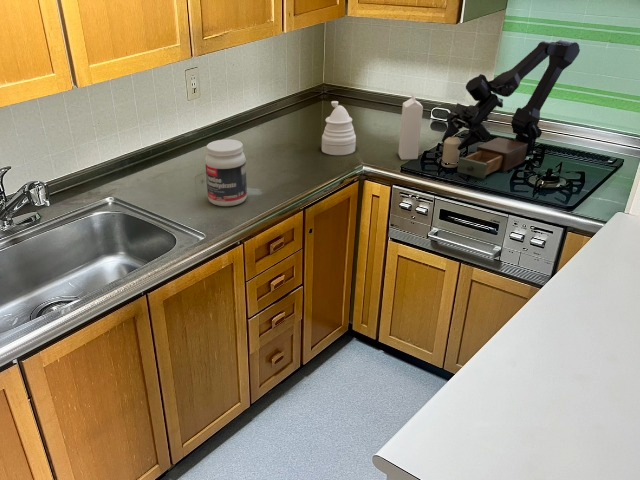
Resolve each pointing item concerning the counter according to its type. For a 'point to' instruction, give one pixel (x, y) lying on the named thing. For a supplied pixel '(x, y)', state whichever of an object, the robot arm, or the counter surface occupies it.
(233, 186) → the supplement tub
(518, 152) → the cabinet
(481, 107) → the robot arm
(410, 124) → the milk
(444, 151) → the candle
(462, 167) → the drawer
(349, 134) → the honey pot
